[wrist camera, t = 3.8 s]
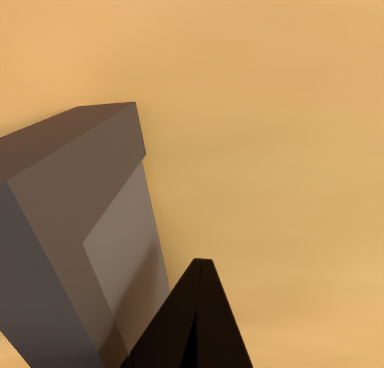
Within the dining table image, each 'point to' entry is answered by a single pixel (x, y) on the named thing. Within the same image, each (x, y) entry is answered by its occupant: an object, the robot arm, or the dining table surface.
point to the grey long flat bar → (78, 239)
